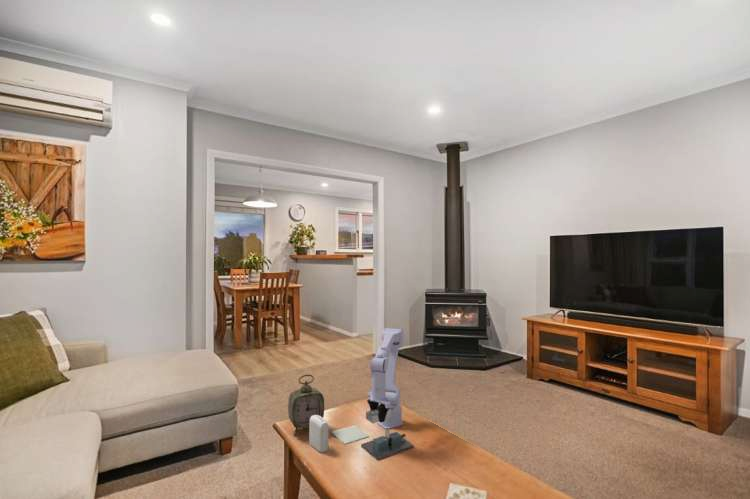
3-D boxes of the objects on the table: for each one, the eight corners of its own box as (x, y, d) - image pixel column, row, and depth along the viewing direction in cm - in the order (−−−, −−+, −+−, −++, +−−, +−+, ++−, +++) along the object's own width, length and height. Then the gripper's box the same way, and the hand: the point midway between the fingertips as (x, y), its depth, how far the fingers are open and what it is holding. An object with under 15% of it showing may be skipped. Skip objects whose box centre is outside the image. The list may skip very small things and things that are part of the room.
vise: (396, 435, 165) (396, 418, 165) (413, 447, 155) (413, 429, 155) (361, 446, 155) (361, 428, 155) (377, 460, 145) (377, 440, 145)
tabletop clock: (291, 438, 161) (292, 380, 161) (286, 429, 169) (287, 373, 169) (324, 431, 168) (324, 375, 168) (317, 422, 176) (318, 369, 176)
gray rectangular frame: (383, 413, 162) (383, 406, 162) (390, 418, 158) (390, 410, 158) (366, 418, 157) (366, 411, 157) (372, 423, 153) (372, 416, 153)
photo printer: (307, 443, 157) (308, 413, 157) (316, 440, 160) (317, 411, 160) (320, 454, 149) (320, 422, 149) (329, 450, 152) (330, 419, 152)
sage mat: (354, 425, 173) (354, 425, 173) (368, 436, 163) (368, 436, 163) (331, 432, 167) (331, 431, 167) (344, 444, 157) (344, 443, 157)
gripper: (361, 383, 161) (361, 414, 162) (380, 394, 149) (380, 428, 149) (375, 380, 165) (374, 411, 165) (395, 390, 153) (394, 424, 153)
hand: (378, 419), depth 158 cm, fingers closed on gray rectangular frame, 5 cm apart
